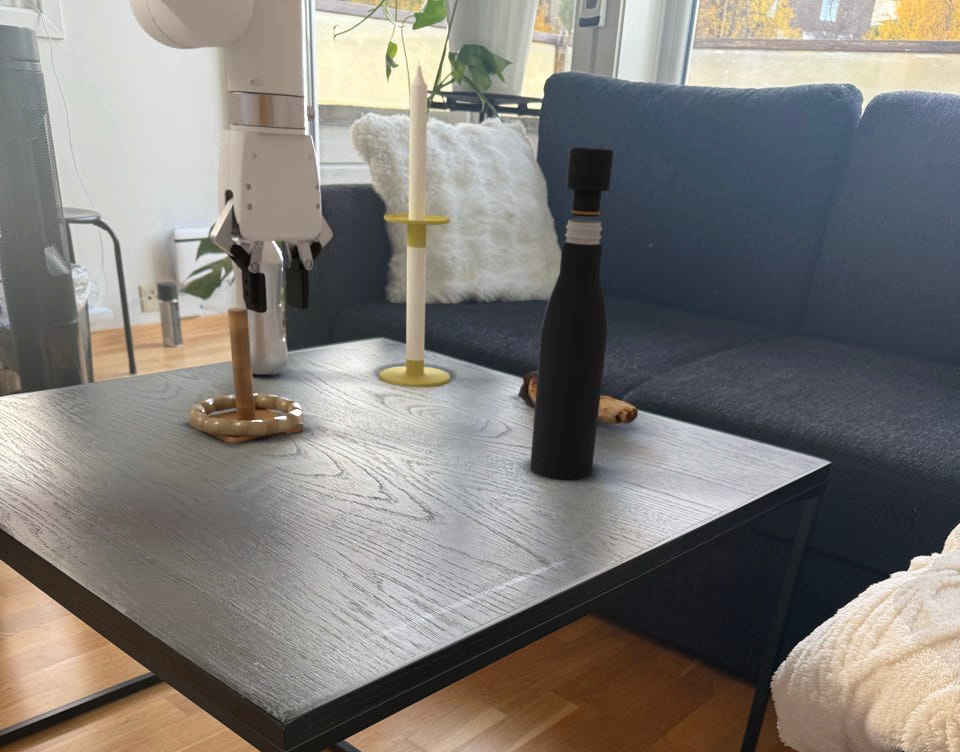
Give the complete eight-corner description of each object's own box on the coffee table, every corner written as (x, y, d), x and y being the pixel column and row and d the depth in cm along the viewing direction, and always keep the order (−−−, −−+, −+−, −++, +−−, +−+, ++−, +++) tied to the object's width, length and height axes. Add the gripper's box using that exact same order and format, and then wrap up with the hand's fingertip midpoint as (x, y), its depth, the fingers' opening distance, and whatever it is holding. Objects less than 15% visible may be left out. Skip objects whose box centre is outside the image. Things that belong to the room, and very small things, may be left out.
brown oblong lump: (487, 412, 116) (601, 443, 105) (488, 374, 114) (604, 403, 103) (536, 397, 122) (648, 426, 111) (537, 361, 120) (652, 387, 109)
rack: (233, 449, 98) (222, 320, 91) (190, 429, 103) (176, 306, 96) (304, 434, 103) (298, 312, 97) (259, 416, 109) (250, 298, 102)
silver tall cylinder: (241, 367, 128) (229, 210, 118) (291, 368, 129) (282, 212, 119) (236, 379, 123) (222, 215, 113) (287, 380, 123) (278, 217, 113)
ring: (228, 445, 95) (226, 429, 94) (170, 417, 103) (168, 402, 102) (324, 425, 103) (324, 410, 102) (264, 400, 110) (263, 387, 109)
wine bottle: (520, 477, 94) (544, 146, 79) (543, 460, 99) (570, 146, 85) (579, 489, 92) (615, 151, 77) (599, 470, 97) (637, 150, 82)
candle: (462, 375, 130) (474, 64, 112) (429, 390, 122) (436, 58, 104) (401, 365, 134) (403, 62, 115) (365, 379, 126) (360, 56, 107)
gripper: (316, 119, 99) (320, 298, 108) (170, 110, 88) (189, 309, 97) (359, 122, 94) (360, 308, 103) (212, 113, 83) (227, 321, 92)
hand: (277, 307), depth 100 cm, fingers open, 4 cm apart
